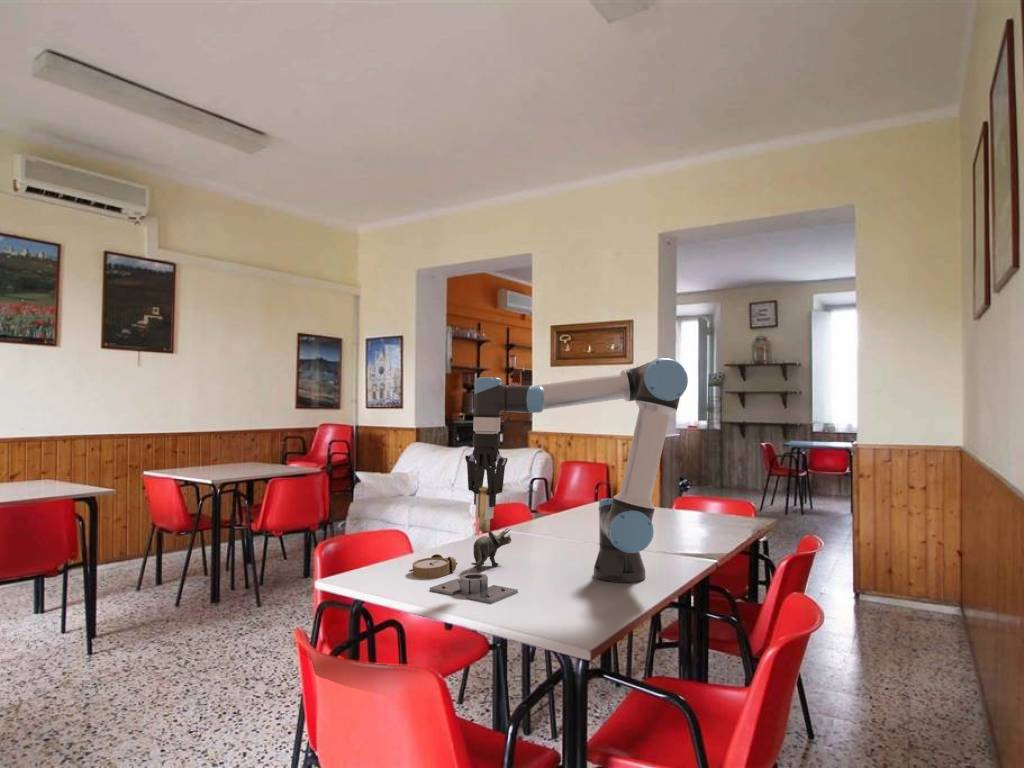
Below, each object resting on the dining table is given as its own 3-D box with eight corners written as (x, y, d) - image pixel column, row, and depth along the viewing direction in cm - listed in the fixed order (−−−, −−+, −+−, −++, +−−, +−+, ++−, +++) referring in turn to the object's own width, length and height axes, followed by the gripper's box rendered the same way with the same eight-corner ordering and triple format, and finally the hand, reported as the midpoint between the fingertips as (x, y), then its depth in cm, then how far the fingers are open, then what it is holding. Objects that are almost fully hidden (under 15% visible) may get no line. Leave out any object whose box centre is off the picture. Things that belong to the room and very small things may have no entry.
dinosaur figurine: (474, 577, 187) (474, 538, 188) (451, 573, 192) (451, 536, 192) (513, 562, 206) (513, 527, 207) (491, 559, 210) (491, 525, 211)
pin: (493, 530, 175) (495, 487, 176) (485, 532, 172) (486, 488, 173) (483, 528, 177) (484, 486, 178) (474, 530, 174) (475, 487, 175)
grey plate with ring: (457, 581, 183) (457, 567, 183) (517, 592, 171) (517, 577, 171) (429, 590, 173) (429, 575, 173) (491, 603, 161) (491, 587, 161)
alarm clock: (403, 565, 191) (438, 548, 203) (405, 580, 191) (440, 563, 203) (429, 571, 184) (464, 553, 196) (431, 587, 184) (466, 568, 196)
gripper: (517, 433, 174) (515, 519, 173) (473, 431, 184) (470, 513, 182) (501, 434, 168) (499, 523, 167) (456, 431, 178) (453, 516, 176)
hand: (484, 517), depth 175 cm, fingers closed on pin, 3 cm apart
